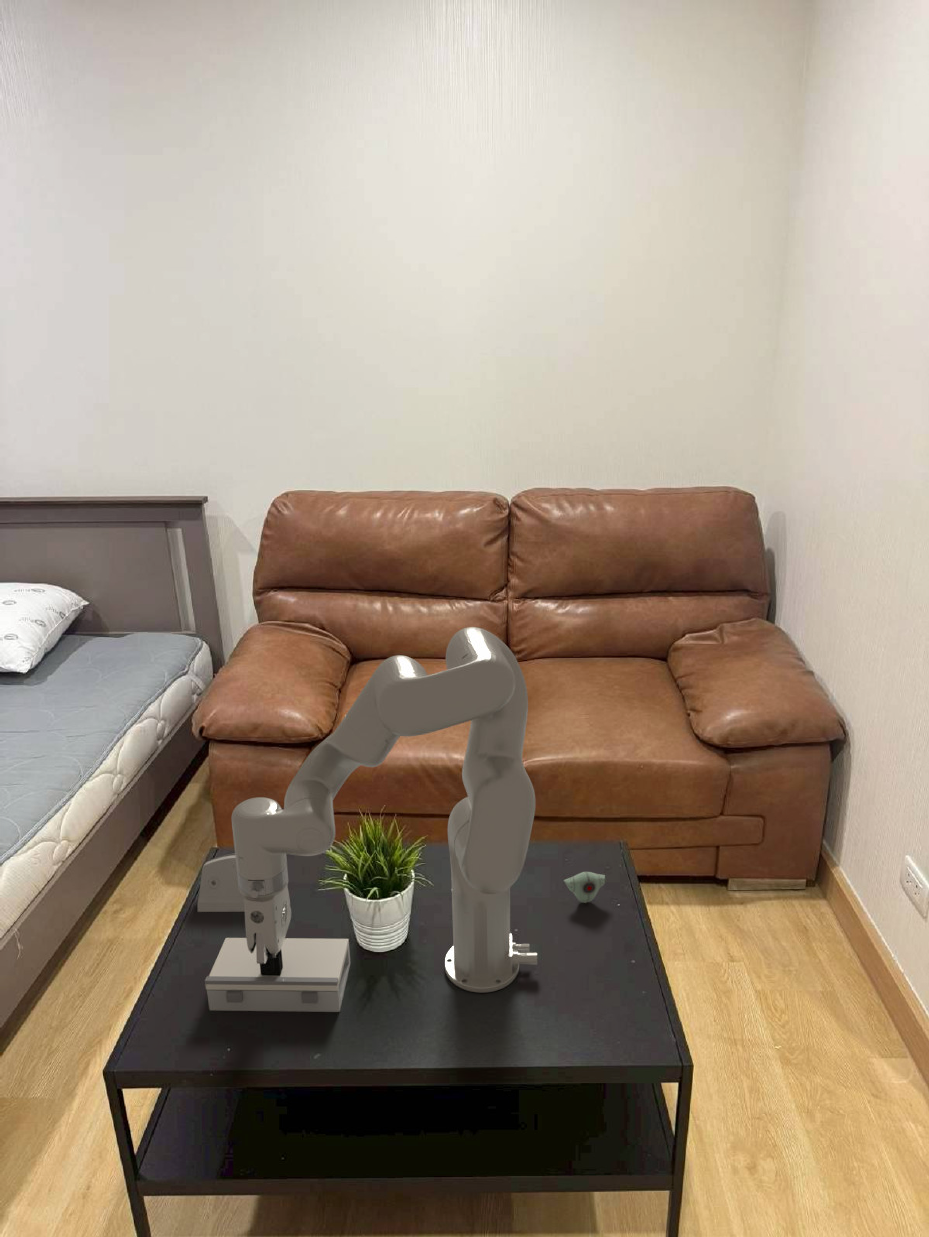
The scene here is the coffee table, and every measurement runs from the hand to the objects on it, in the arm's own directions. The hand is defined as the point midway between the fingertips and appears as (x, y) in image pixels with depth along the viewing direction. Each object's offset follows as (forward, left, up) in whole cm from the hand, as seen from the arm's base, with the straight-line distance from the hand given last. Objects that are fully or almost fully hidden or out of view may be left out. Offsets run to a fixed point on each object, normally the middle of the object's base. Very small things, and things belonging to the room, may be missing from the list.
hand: (272, 971), depth 144 cm
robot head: (-53, -25, -6) cm, 58 cm away
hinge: (+12, -25, -6) cm, 29 cm away
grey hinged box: (-1, -3, -5) cm, 6 cm away
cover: (-1, -3, -1) cm, 3 cm away
